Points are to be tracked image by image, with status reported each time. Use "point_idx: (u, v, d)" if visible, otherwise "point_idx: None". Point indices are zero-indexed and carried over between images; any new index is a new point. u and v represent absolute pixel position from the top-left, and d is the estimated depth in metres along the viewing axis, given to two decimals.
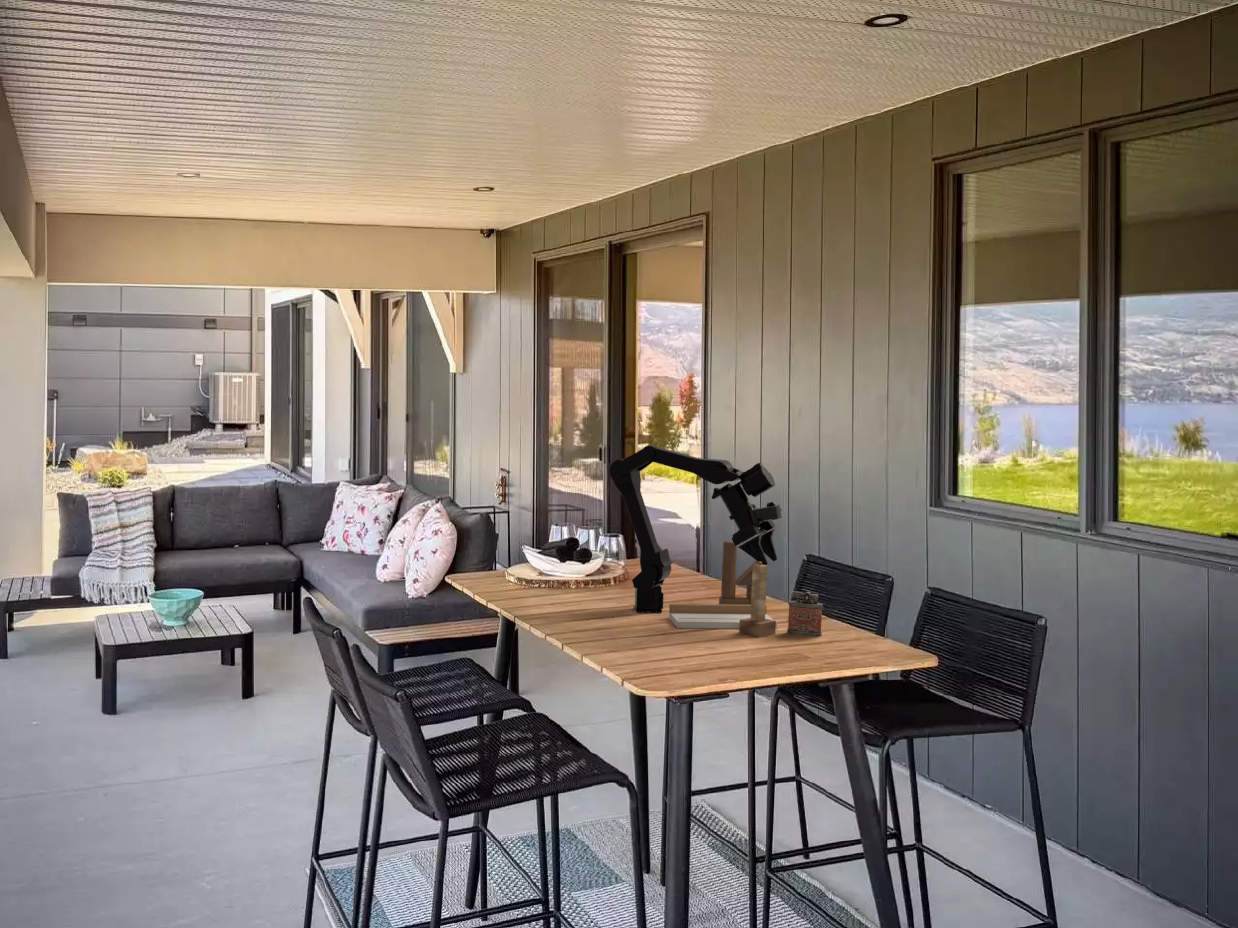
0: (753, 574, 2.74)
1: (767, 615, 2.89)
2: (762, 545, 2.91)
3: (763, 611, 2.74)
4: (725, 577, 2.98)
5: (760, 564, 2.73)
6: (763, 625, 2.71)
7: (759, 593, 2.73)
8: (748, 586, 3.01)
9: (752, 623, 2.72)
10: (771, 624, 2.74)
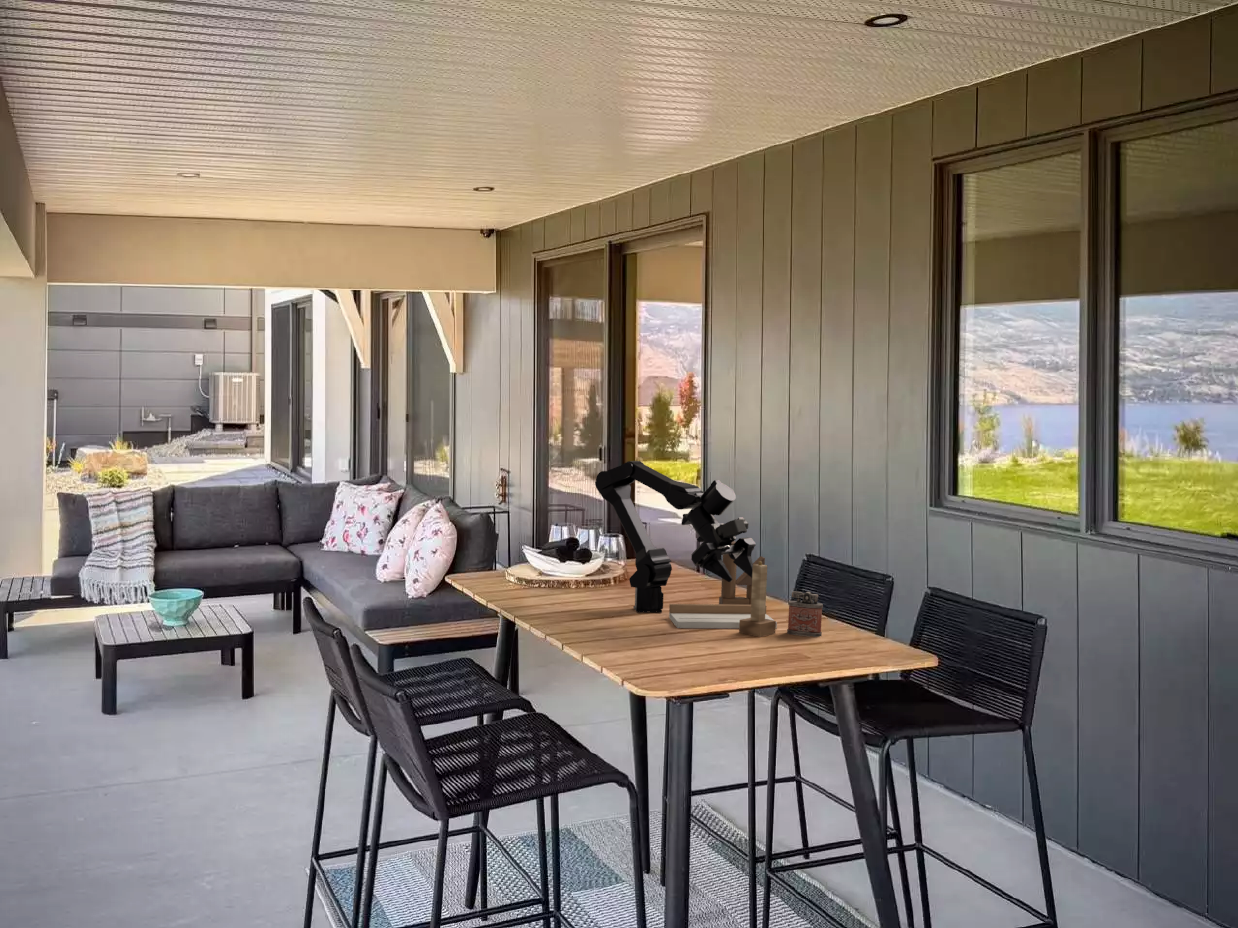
0: (753, 574, 2.74)
1: (767, 615, 2.89)
2: (741, 564, 2.83)
3: (763, 611, 2.74)
4: None
5: (760, 564, 2.73)
6: (763, 625, 2.71)
7: (759, 593, 2.73)
8: (748, 586, 3.01)
9: (752, 623, 2.72)
10: (771, 624, 2.74)
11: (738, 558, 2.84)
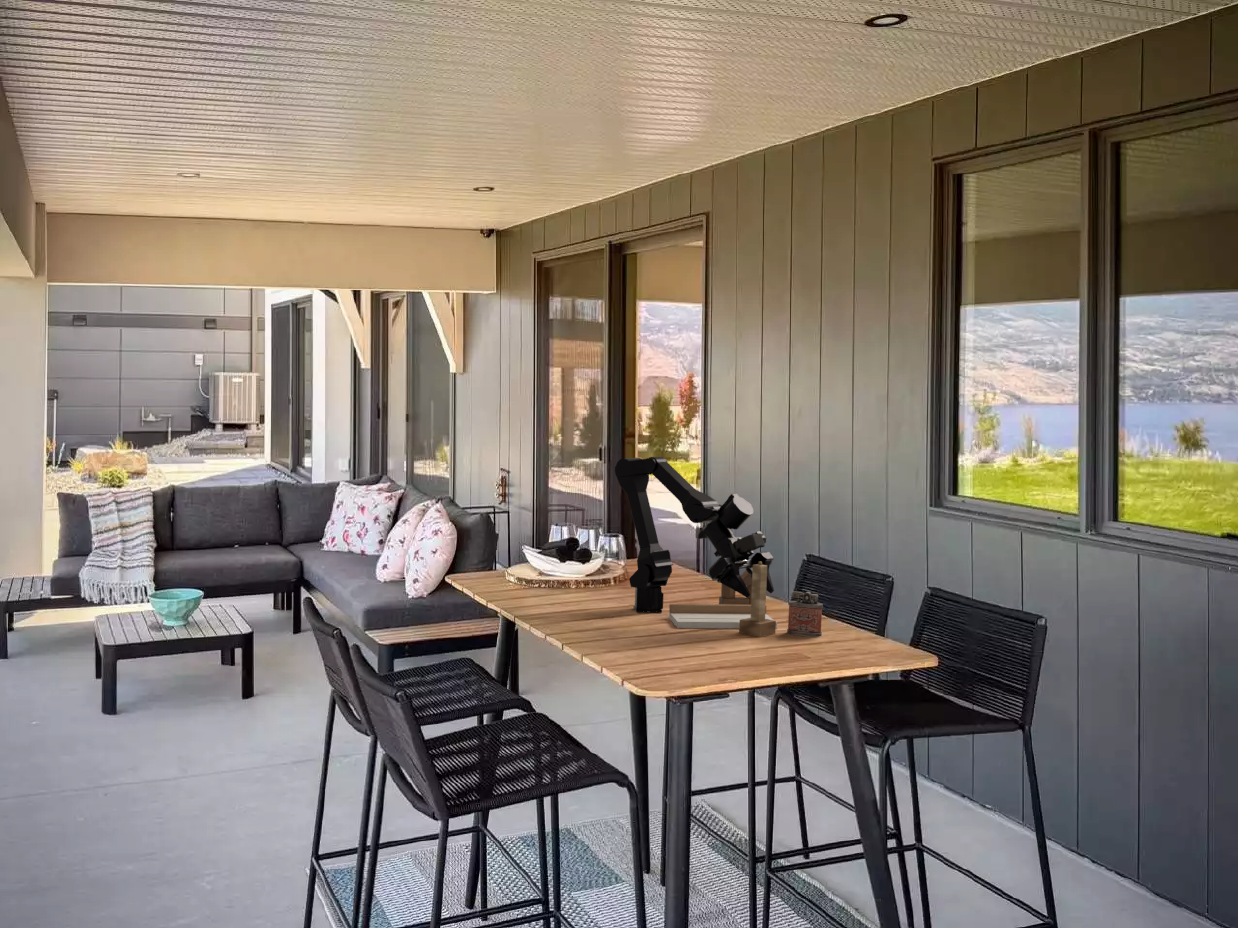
0: (753, 574, 2.74)
1: (767, 615, 2.89)
2: None
3: (763, 611, 2.74)
4: None
5: (760, 564, 2.73)
6: (763, 625, 2.71)
7: (758, 593, 2.73)
8: (748, 586, 3.01)
9: (752, 623, 2.72)
10: (771, 624, 2.74)
11: None
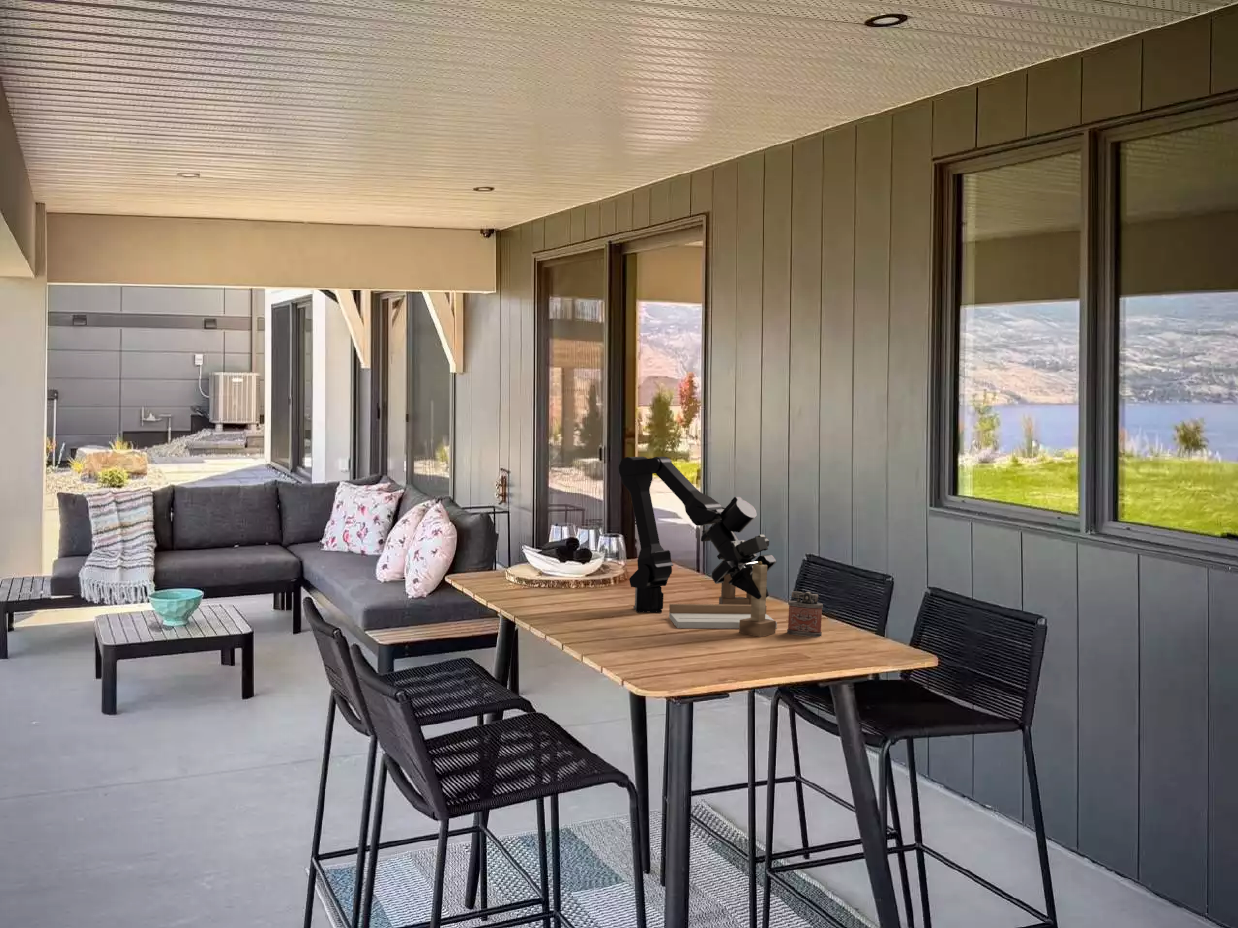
0: (753, 574, 2.74)
1: (767, 615, 2.89)
2: None
3: (763, 611, 2.74)
4: (725, 577, 2.98)
5: (760, 564, 2.73)
6: (763, 625, 2.71)
7: None
8: None
9: (752, 623, 2.72)
10: (771, 624, 2.74)
11: (750, 577, 2.78)
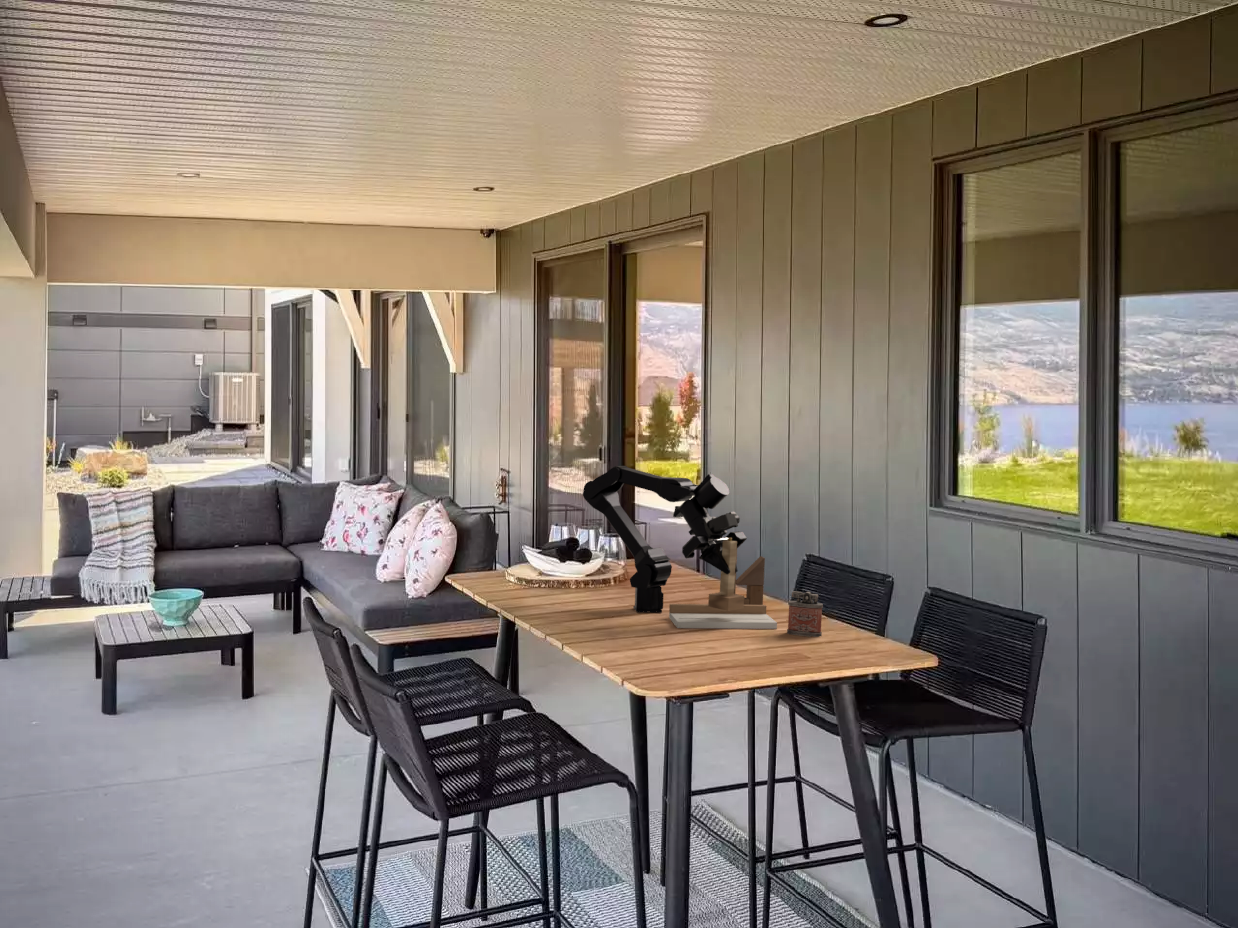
0: (723, 550, 2.81)
1: (767, 615, 2.89)
2: None
3: (731, 586, 2.81)
4: None
5: (730, 540, 2.80)
6: (731, 599, 2.79)
7: None
8: (748, 586, 3.01)
9: (721, 597, 2.79)
10: (739, 599, 2.81)
11: (720, 553, 2.85)
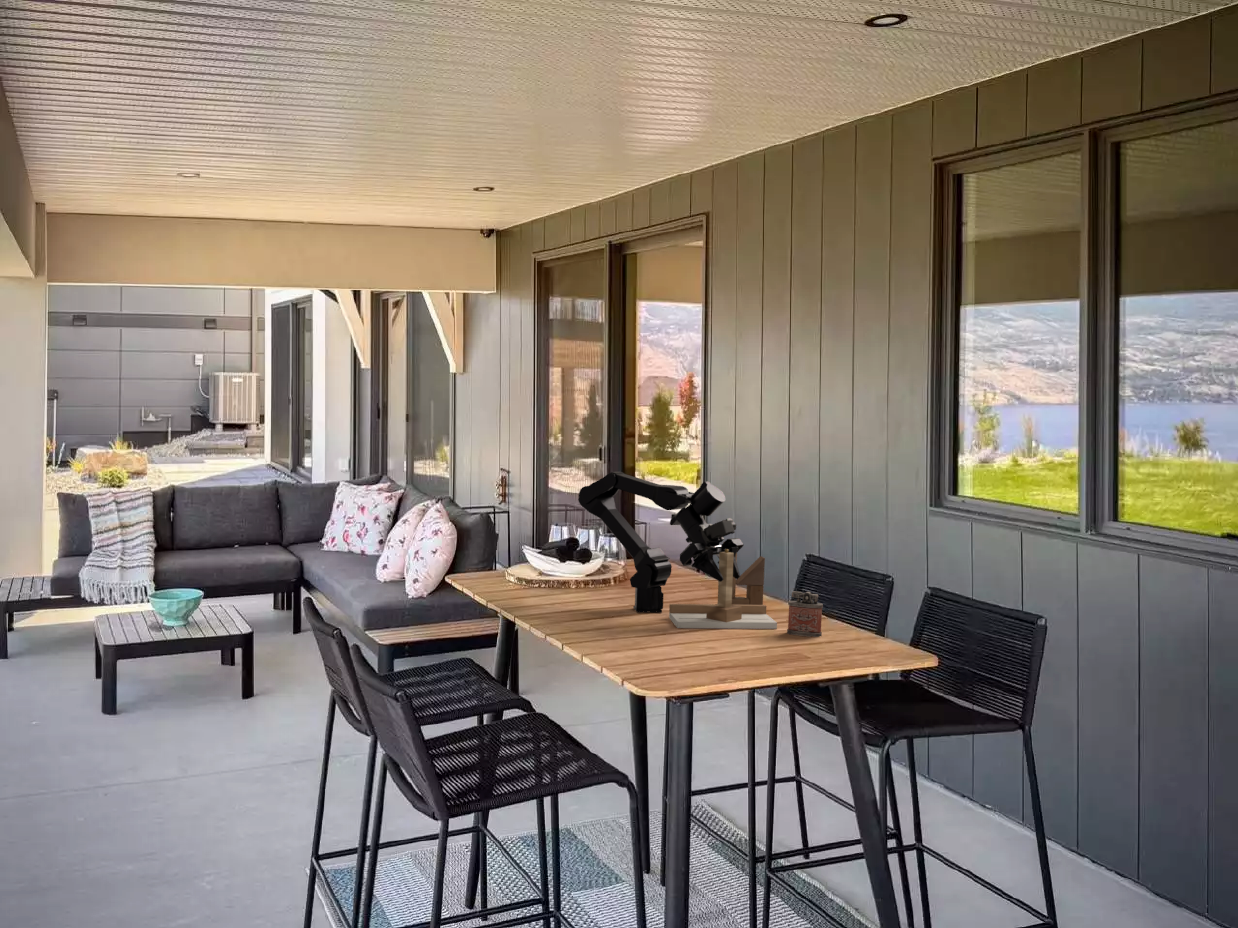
0: (720, 561, 2.82)
1: (767, 615, 2.89)
2: None
3: (729, 597, 2.82)
4: None
5: (726, 552, 2.81)
6: (729, 611, 2.79)
7: (725, 580, 2.81)
8: (748, 586, 3.01)
9: (719, 609, 2.80)
10: (737, 610, 2.82)
11: None
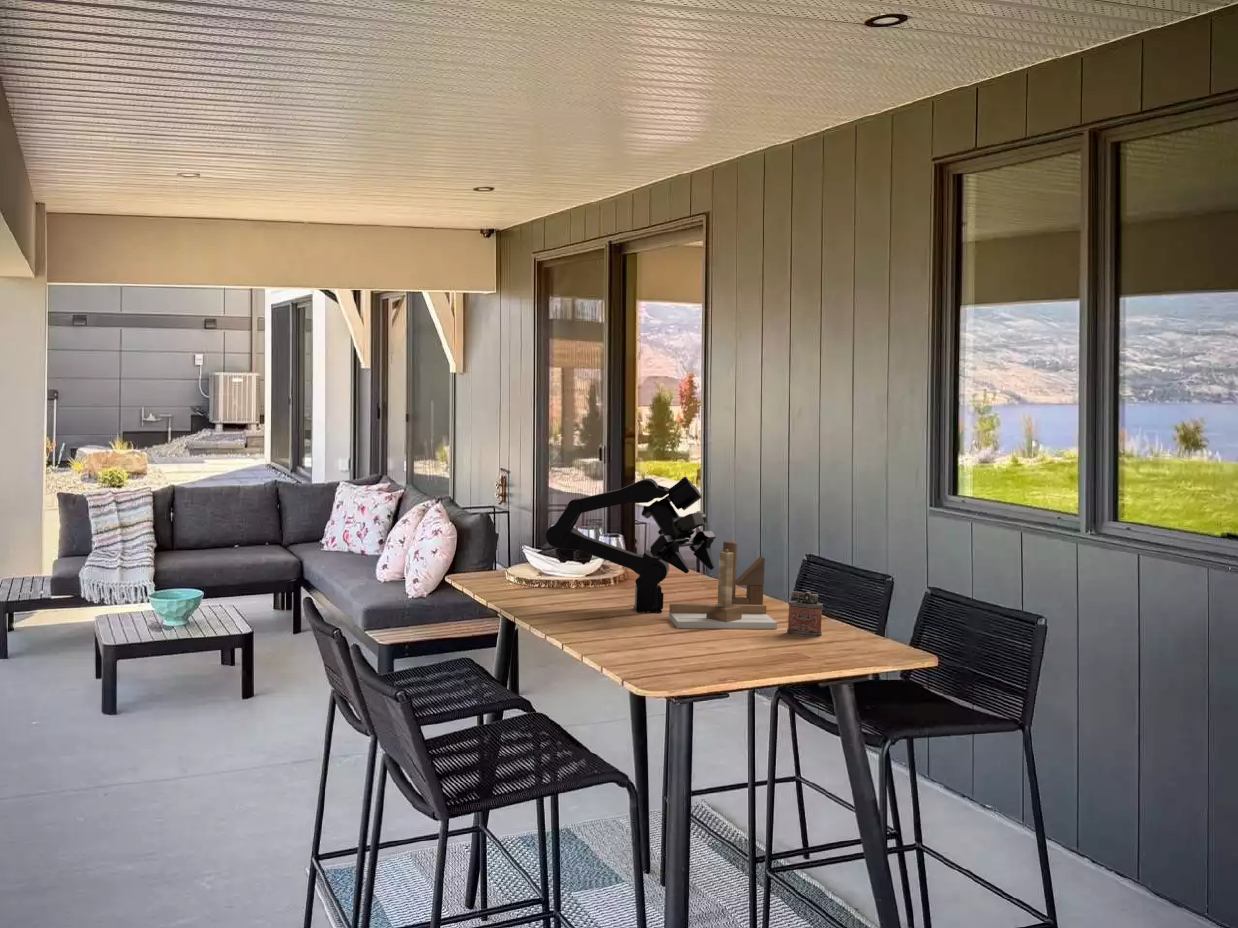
0: (720, 561, 2.82)
1: (767, 615, 2.89)
2: (701, 556, 2.94)
3: (729, 597, 2.82)
4: None
5: (726, 552, 2.81)
6: (729, 611, 2.79)
7: (725, 580, 2.81)
8: (748, 586, 3.01)
9: (719, 609, 2.80)
10: (737, 610, 2.82)
11: (698, 550, 2.95)
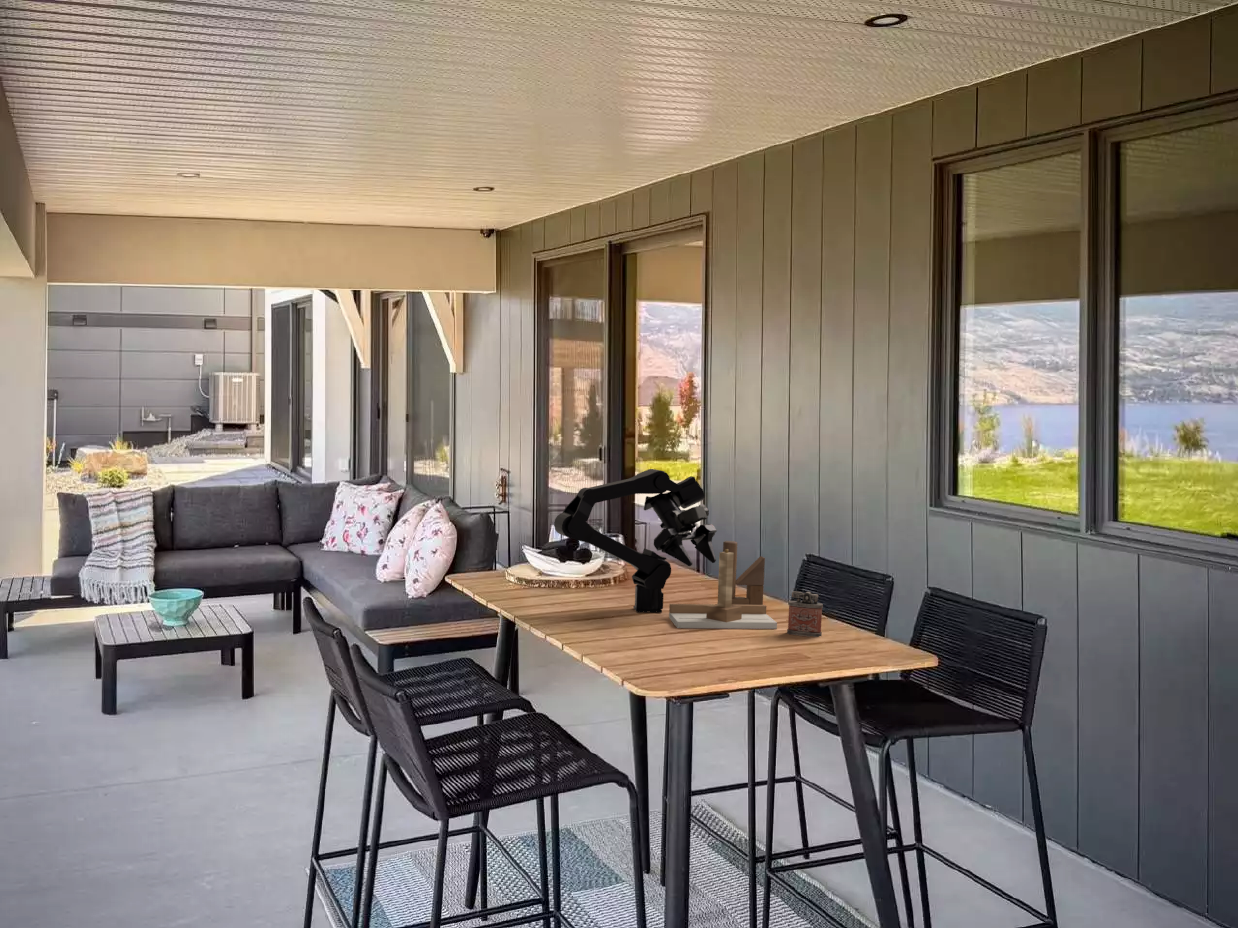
0: (720, 561, 2.82)
1: (767, 615, 2.89)
2: (702, 549, 2.96)
3: (729, 597, 2.82)
4: None
5: (726, 552, 2.81)
6: (729, 611, 2.79)
7: (725, 580, 2.81)
8: (748, 586, 3.01)
9: (719, 609, 2.80)
10: (737, 610, 2.82)
11: (699, 544, 2.97)
